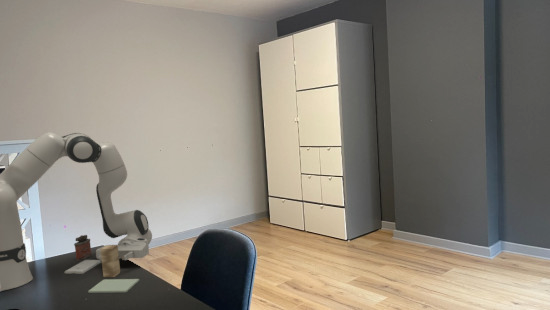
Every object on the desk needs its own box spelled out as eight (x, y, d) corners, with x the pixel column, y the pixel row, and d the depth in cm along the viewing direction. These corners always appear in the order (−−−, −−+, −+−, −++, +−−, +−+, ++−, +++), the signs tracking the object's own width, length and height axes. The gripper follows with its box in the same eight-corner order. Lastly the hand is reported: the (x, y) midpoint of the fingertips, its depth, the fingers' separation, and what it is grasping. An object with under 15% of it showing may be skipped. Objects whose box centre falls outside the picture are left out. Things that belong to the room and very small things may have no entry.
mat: (88, 292, 144) (88, 291, 144) (103, 281, 154) (103, 279, 154) (126, 292, 143) (126, 290, 142) (139, 280, 152) (139, 279, 152)
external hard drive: (101, 263, 176) (82, 275, 164) (84, 263, 177) (64, 274, 165) (101, 259, 176) (82, 271, 163) (84, 259, 177) (64, 270, 165)
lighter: (87, 254, 187) (85, 233, 186) (93, 254, 186) (91, 233, 185) (74, 260, 180) (71, 238, 179) (80, 261, 179) (77, 238, 178)
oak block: (103, 277, 158) (100, 249, 157) (109, 272, 163) (106, 245, 162) (114, 277, 158) (111, 248, 157) (120, 272, 162) (117, 245, 161)
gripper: (105, 240, 176) (86, 251, 162) (151, 239, 173) (136, 250, 160) (106, 254, 177) (88, 266, 163) (152, 253, 174) (137, 265, 160)
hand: (112, 258), depth 161 cm, fingers open, 8 cm apart
